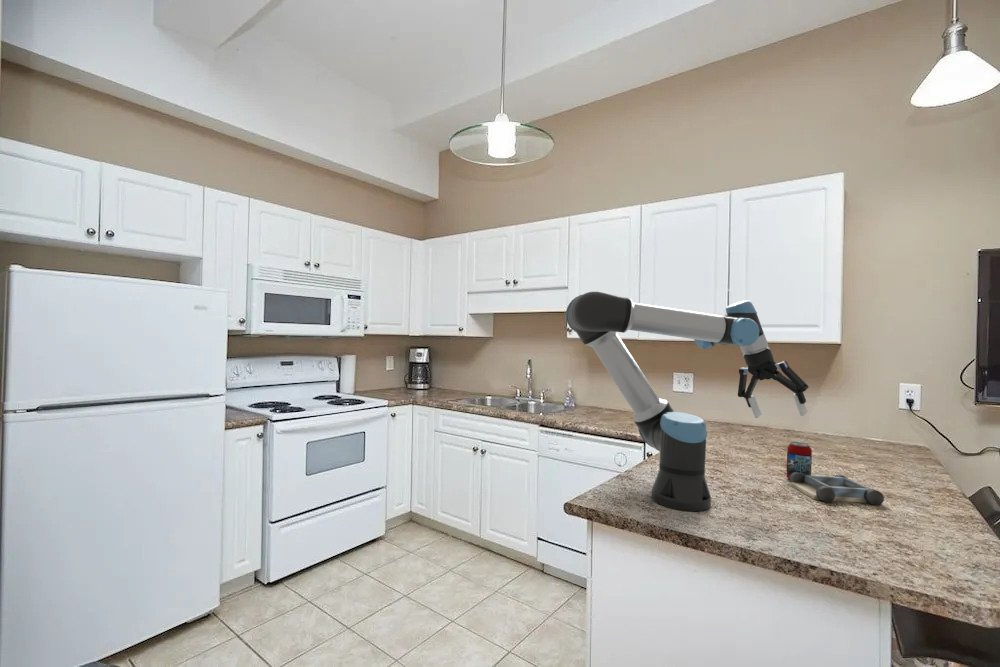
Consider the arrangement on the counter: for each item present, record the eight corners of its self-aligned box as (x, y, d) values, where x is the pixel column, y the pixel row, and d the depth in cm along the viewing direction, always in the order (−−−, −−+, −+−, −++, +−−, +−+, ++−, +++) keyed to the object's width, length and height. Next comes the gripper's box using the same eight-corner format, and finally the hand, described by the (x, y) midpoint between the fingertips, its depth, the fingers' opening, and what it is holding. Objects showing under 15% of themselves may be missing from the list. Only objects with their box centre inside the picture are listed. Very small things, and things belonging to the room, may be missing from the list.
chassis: (818, 501, 132) (818, 487, 132) (787, 484, 148) (787, 471, 148) (885, 505, 130) (886, 491, 130) (847, 487, 146) (847, 474, 146)
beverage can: (788, 481, 150) (789, 444, 150) (784, 476, 157) (785, 440, 157) (813, 485, 148) (814, 447, 148) (808, 479, 154) (809, 442, 154)
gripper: (804, 338, 134) (830, 407, 134) (723, 352, 155) (746, 412, 155) (793, 347, 130) (820, 418, 130) (712, 360, 150) (735, 421, 151)
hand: (780, 415), depth 142 cm, fingers open, 13 cm apart
